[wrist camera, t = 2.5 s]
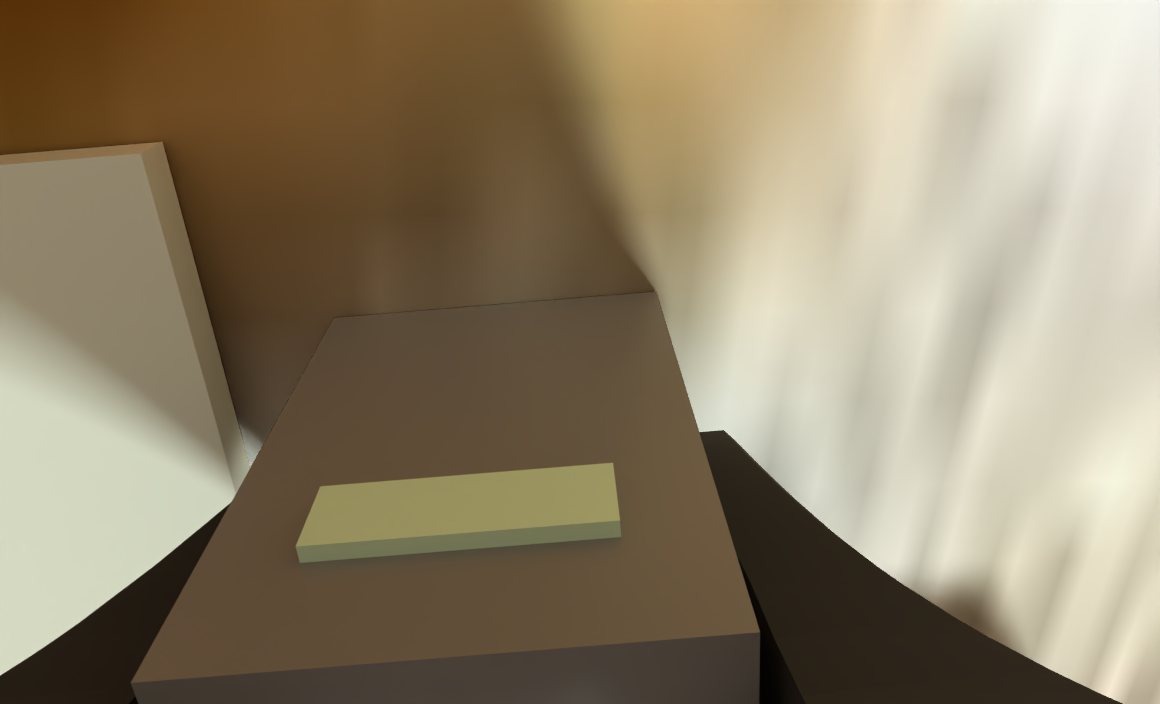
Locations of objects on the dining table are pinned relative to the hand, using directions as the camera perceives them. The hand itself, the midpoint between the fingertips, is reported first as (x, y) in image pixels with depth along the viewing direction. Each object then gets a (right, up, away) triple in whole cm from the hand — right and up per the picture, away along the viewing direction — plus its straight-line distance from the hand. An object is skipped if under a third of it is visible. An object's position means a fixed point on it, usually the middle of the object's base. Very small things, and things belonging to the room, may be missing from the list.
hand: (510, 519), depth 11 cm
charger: (0, -1, +2) cm, 2 cm away
